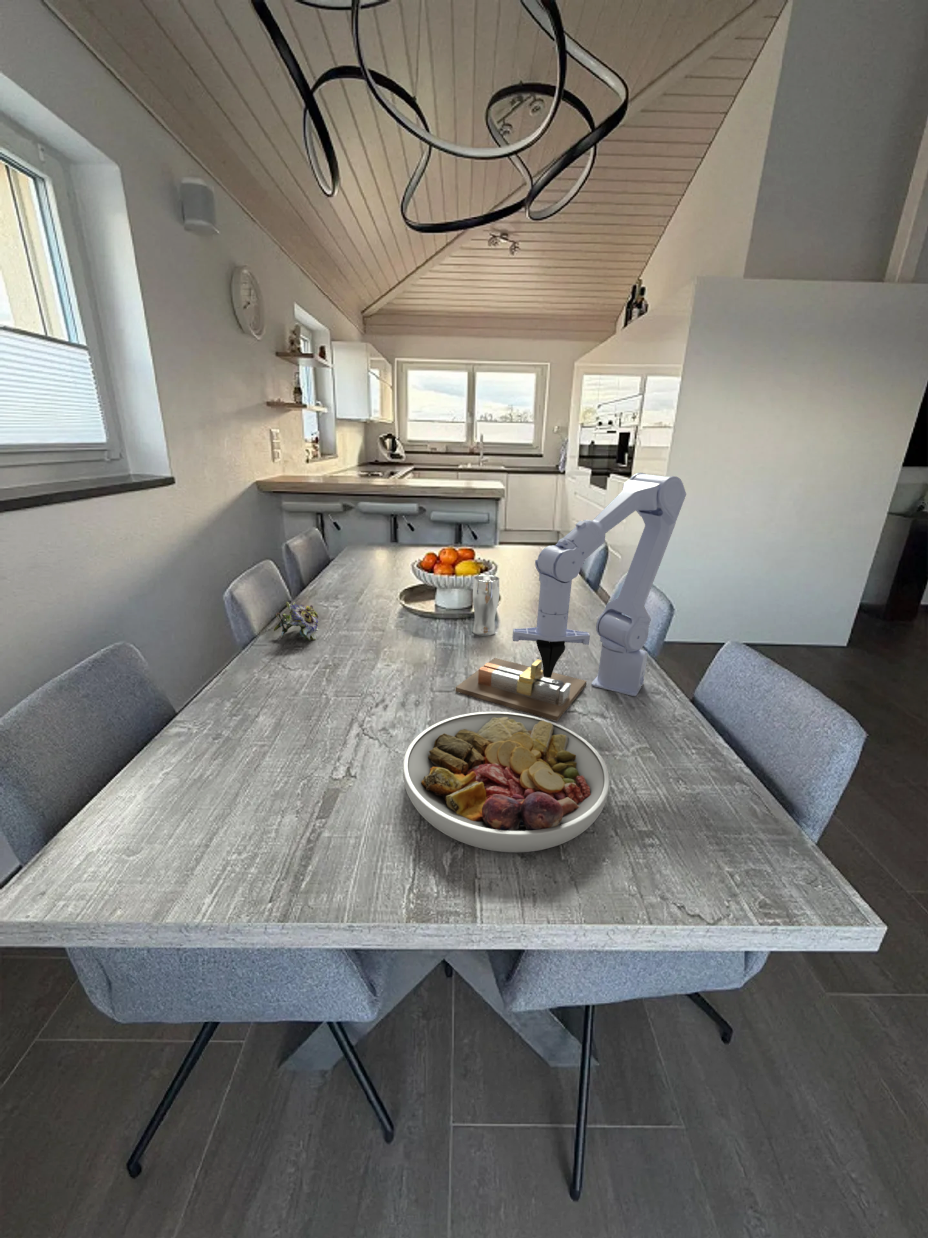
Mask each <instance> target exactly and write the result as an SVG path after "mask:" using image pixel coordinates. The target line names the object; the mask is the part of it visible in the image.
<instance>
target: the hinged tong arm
mask: <svg viewBox="0 0 928 1238" xmlns="http://www.w3.org/2000/svg"><path fill="white" fill-rule="evenodd" d="M483 666H484V667H487V668H491V669H494V670H498V671H502V672H505V673H509V674H513V675H517V676H520V675H521V674H522V673H523V672H522V671H518V670H514V669H510V668H506V667H502V666H499V665H495V664H491V663H488V662H486V663H484V665H483ZM536 681H540V682H543V683H547V684H551V685H555V686H559V687H560V688H559V693H560V690H561V689H562V688H563V685H564V682H563V681H561V680H553V679H549V678H545V677H542V676H540V677H539V678H538V679H537V680H536ZM558 699H559V697H558Z"/></svg>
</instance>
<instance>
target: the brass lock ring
mask: <svg viewBox="0 0 928 1238" xmlns="http://www.w3.org/2000/svg"><path fill="white" fill-rule="evenodd" d="M542 668H543V664H542V659H536V660H535V661H534V662H533V663H531V664H530V666H529V668H527V669H526V670H525V671H524V672H523V673H522V674H521V675H520V676H519V680H518V681H517V693H521V694H524V695H528V696H531V695H532V686H533V683H534V682H535V681H536V680H537V679H538V678H539V677H540V676H541V675H542V674H543V669H542Z"/></svg>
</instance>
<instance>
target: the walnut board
mask: <svg viewBox="0 0 928 1238" xmlns="http://www.w3.org/2000/svg"><path fill="white" fill-rule="evenodd" d="M487 663H491V664H495V665H499V666H502V667H506V668H510V669H514V670H518V671H522V672H524V671H525V670H526V669H527V668H529V667H530V665H529V666H528V665H524V664H520V663H516V662H513V661H509V660H505V659H500V658H498V657H497V658H496V657H493V658H492V659H491V660H490V661H488V662H487ZM483 667H484V665H483ZM478 675H479V669H477V671H475V672H473V673H472V674H471V675H470V676H468V677H467V678H466V679H464V680H463V681H462V682H460V683H459V684H458V685H456V686H455V693H459V694H463V695H466V696H469V697H473V698H476V699H480V700H483V701H486V702H490V703H492V704H493V703H494V704H496V705H499V706H504V707H507V708H510V709H513V710H517V711H520V712H524V713H527V714H529V715H532V716H536V717H539V718H543V719H546V720H549V721H550V720H551V721H553V722H558V721H559V720H560V719H561V718H562V715H563V714H564V713H565V712H566V711H567V710H568V708H569V707H570V706H571V705H572V703H573V702H574V701H575V700H576V698H577V697H578V696H579V694H581V692H582V691H583V690H584V688H585V687H587V680H585V679H581V678H577V677H572V676H568V675H566V674H565V675H564V674H560V673H557V672H552V675H551V678H549V679H553V680H561V681H563V682H564V685H565V684H566V683H571V687H570V695H569V699H568V700H567V701H566V702H565V704H564V705H563V706H558V702H559V699H558V702H557V703H556V704H551V703H547V702H544V701H540V700H537V699H533V698H530V697H526V696H522V695H519V694H515V693H512V692H508V691H505V690H501V689H497V688H494V687H490V686H487V685H483V684H479V683H478ZM541 676H542V677H544V675H543V674H542V675H541ZM545 678H546V677H545ZM564 685H563V686H564Z"/></svg>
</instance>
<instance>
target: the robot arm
mask: <svg viewBox="0 0 928 1238" xmlns="http://www.w3.org/2000/svg"><path fill="white" fill-rule="evenodd" d="M686 496H687V492H686V489H685V486H684V482H683V480H682V479H681V478H680V477H678V476H676V475H671V476H666V475H657V474H650V473H648V474H646V473H643V472H637V473H635V474H633V475H631V477H630V478H629V479H627V480H626V481H624V482H623V484H622V489H621V491H620V492H619V493H618V495H617V496H615V497H614V498H613V499H612V500H611V502H610V503H608V504H607V506H605V507H604V508H603V509H602V510H601V511H600V512H599V513H598V514H597V515H596V517H595V518H594V519H592V520H591V519H583V520H579V521H577V523H576V524H575V527H574V528H573V529H572V530H571V531H570V532H568V533H567V534H566V535H564V536H563V537H562V538H560V539H558V540H557V543H556V544H555V545H553V544H552V545H547V546H546V547H544V548H543V549H542V550H541V551H540V552H539V554H538V556H537V559H535V560H534V561H535V563H534V566H535V568H536V571H537V572H538V581H539V583H540V584H539V593H538V596H539V597H538V607H537V621H536V627H535V626H534V627H524V628H512V637H511V638H512V642H519V641H527V642H528V641H530V642H535V643H536V647H537V650H538V653H539V655H540V657H541V658H540V659H541V660H542V670H543V675H544V677H546V678H551V675H552V672H553V671H554V669H555V666H556V665H557V663H558V661H559V660H560V657H562V655H563V654H564V652H565V650H566V645H565V644H566V643H572V644H575V643H576V644H583V645H588V646H589V645H590V641H591V640H590V638H591V635H590V632H588V631H581V630H576V629H575V630H574V629H568V620H569V612H570V611H569V610H570V600H571V592H572V583H573V580H574V579H575V578H577V577H578V575H579V573H580V571H581V568H582V566H583V565H584V564H585V561H586V559H588V558H589V557H590V556H591V555H593V553H595V552H596V551H597V550H598V549H599V548H601V546H603V544H605V541H606V534H607V533H608V532H610V531H611V530H612V529H613V528H615V527H616V526H617V525H619V524H620V523H622V522H623V521H624V520H625V519H627V518H628V517H630V515H632V514H633V513H634V512H636V513H637V514H638V515H639V516H640V517H641V519H642V521H643V523H644V528H643V530H642V532H641V535H640V538H639V542H638V544H637V546H636V549H635V552H634V554H633V557H632V560H631V563H630V565H629V568H628V571H627V574H626V576H625V579H624V581H623V585H622V587H621V590H620V592H619V595H618V597H617V598H615V599H613V600H611V601H609V602H607V603H606V605H605V607H604V610H603V611H602V612H601V614H600V615H599V616H598V618H597V620H596V625H595V631H596V634H597V635H598V636H599V642H601V648H600V656H599V666H598V672H597V676H596V677H595V678H594V679H593V680H592V682H591V684H590V685H591V686H592V687H597V688H599V689H600V688H601V689H603V690H604V689H605V690H608V691H611V692H615V693H619V694H623V695H626V696H627V695H628V696H632V697H637V695H638V694H639V692H640V690H641V688H642V687H641V686H643V685H644V682H645V681H644V680H645V674H646V669H647V668H646V667H647V660H648V651H646V650H643V649H642V648H643V647H644V646H645V644H646V643H647V641H648V638H649V631H650V630H649V628H650V626H651V622H652V617H651V616H650V614H649V613H648V611H647V609H646V608H645V605H646V602H647V600H648V597H649V594H650V592H651V589H652V587H653V585H654V582H655V579H656V576H657V574H658V571H659V568H660V566H661V563H662V561H663V558H664V555H665V553H666V550H667V547H668V544H669V542H670V539H671V537H672V535H673V532H674V529H675V526H676V522H677V521H678V518H679V515H680V511H682V510H681V509H682V507H683V505H684V501H685V499H686V498H687V497H686ZM553 673H554V672H553Z"/></svg>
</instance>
